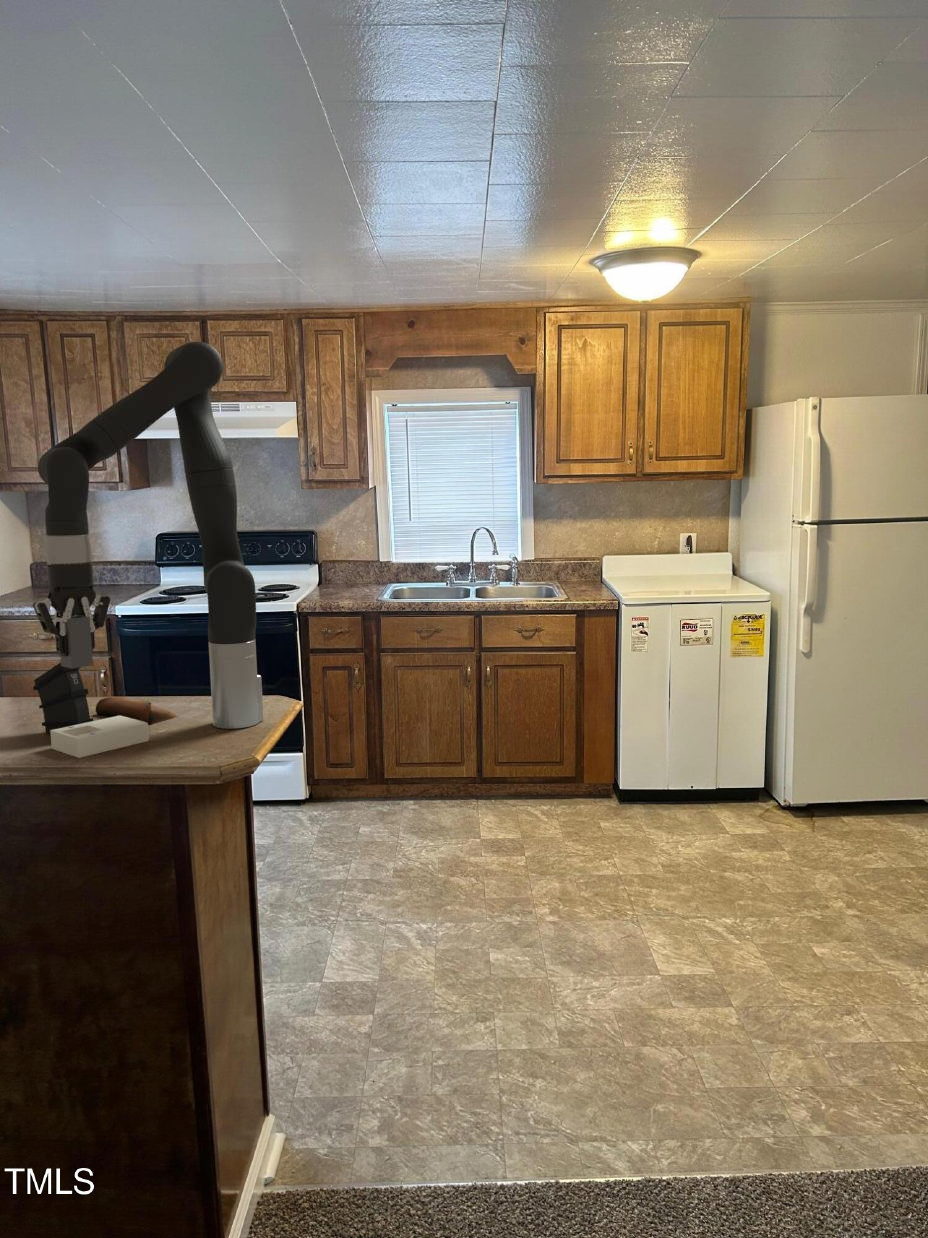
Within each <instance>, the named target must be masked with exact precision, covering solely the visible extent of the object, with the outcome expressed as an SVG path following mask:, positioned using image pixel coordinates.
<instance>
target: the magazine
mask: <svg viewBox="0 0 928 1238" xmlns="http://www.w3.org/2000/svg"><path fill="white" fill-rule="evenodd" d="M81 668H82V667H79V668H67V667H63V666H61V662H59V663H57V664H56V665H55V666H53V667H51V668H50V669H48V670H46V672H44V673H42V674H41V675H40V676H38V677H36V678H34V680H33V683H34V686H32V688H33V689H32V690H33V691H37V693H38V697H39V698H40V703H41V704H39V705H38V709H39V710H40V709H42V712H43V719H44V721H43V722H41V726H42V727H44V728H45V733H46V734H50V735H51V733H50V730H54V729H59V728H64V727H68V726H73V725H78V724H82V723H87V722H92V721H94V718H93V717H90V709H89V704H88V699H87V695H88V694H89V688H85V687H84V683H83V679H82V676H81V673H80V669H81Z"/></svg>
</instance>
